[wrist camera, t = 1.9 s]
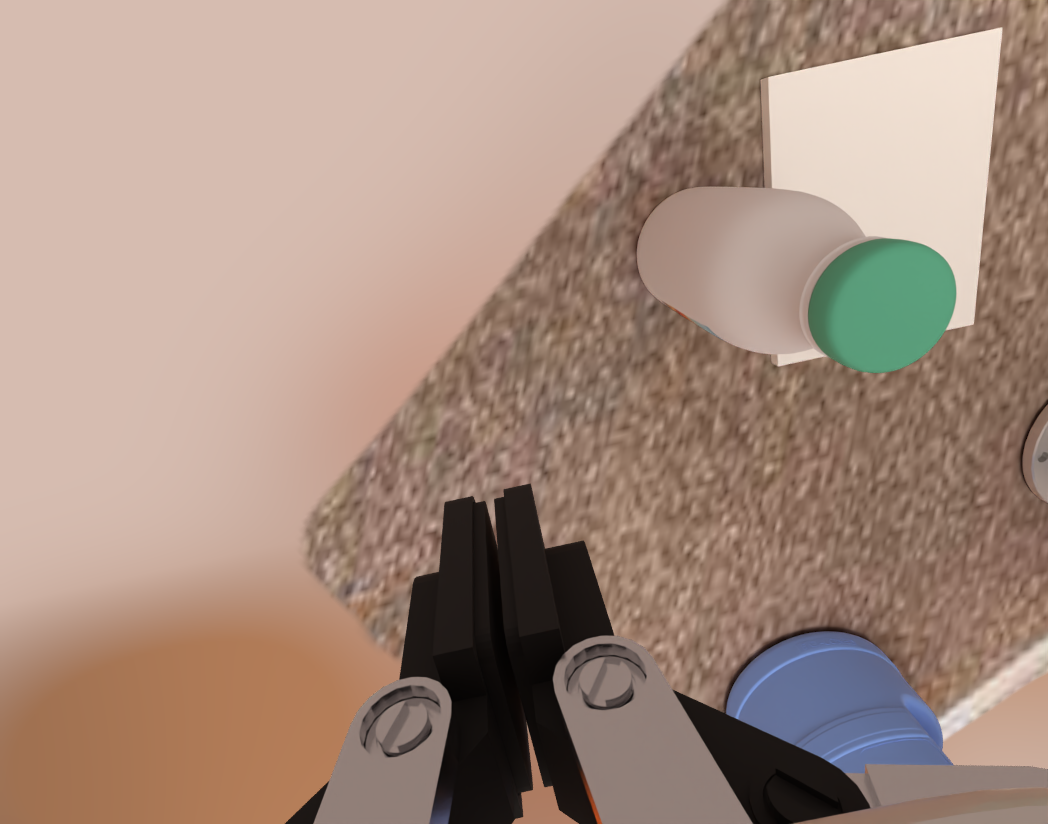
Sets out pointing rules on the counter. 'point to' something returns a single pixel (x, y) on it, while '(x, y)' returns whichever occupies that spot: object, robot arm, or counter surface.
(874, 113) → the cutting board
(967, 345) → the counter surface
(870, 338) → the milk bottle
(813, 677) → the water jug
